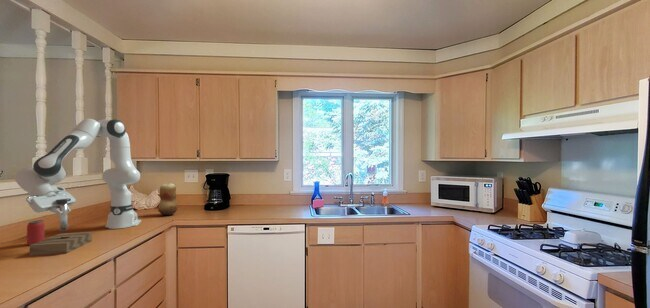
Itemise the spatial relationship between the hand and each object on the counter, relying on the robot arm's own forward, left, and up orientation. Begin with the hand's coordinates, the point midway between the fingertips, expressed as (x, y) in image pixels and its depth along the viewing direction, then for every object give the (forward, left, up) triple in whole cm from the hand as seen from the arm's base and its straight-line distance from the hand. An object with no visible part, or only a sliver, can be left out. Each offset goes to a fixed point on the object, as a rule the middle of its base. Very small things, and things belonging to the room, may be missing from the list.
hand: (64, 213), depth 143 cm
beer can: (-11, -20, -18) cm, 29 cm away
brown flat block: (0, -1, -18) cm, 18 cm away
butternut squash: (-73, +26, -18) cm, 80 cm away
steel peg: (0, -1, -9) cm, 9 cm away
